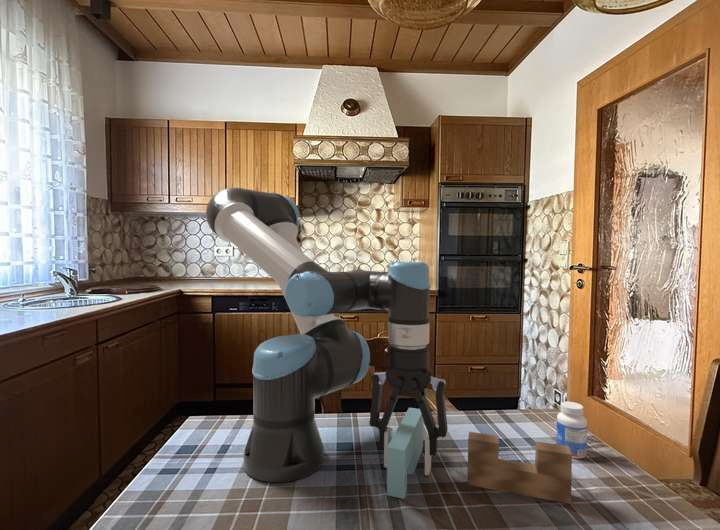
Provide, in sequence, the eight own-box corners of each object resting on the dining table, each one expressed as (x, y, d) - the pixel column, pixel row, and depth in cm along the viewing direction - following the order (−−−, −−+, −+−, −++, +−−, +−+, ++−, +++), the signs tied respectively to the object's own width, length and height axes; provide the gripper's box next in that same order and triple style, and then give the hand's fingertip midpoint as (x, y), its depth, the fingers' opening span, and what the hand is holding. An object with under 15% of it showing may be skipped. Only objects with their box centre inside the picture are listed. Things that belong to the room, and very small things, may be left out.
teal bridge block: (386, 495, 64) (387, 447, 64) (408, 445, 81) (408, 407, 81) (404, 499, 63) (405, 450, 63) (422, 447, 80) (423, 409, 80)
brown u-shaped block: (467, 484, 67) (468, 438, 67) (468, 475, 70) (469, 431, 69) (571, 504, 62) (571, 454, 61) (567, 493, 64) (568, 445, 64)
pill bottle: (555, 443, 82) (556, 398, 82) (584, 449, 80) (585, 402, 79) (557, 455, 77) (558, 407, 77) (588, 461, 75) (589, 411, 74)
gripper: (351, 344, 71) (350, 468, 71) (462, 354, 64) (460, 489, 65) (364, 337, 78) (363, 449, 78) (465, 344, 72) (463, 466, 72)
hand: (407, 467), depth 72 cm, fingers open, 7 cm apart
